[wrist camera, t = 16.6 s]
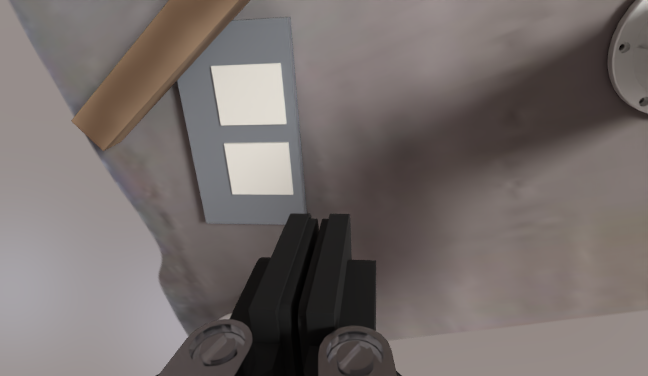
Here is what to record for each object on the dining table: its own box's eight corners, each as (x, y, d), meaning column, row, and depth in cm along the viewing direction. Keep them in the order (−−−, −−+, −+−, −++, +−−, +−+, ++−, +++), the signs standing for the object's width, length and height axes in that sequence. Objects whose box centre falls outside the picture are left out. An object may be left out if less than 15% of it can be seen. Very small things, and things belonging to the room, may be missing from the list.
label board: (290, 16, 38) (286, 17, 36) (307, 218, 47) (304, 226, 45) (173, 24, 40) (164, 24, 38) (211, 217, 49) (205, 224, 47)
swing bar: (275, -28, 34) (265, -31, 31) (121, 141, 42) (103, 151, 40) (242, -68, 33) (229, -75, 30) (91, 113, 41) (71, 120, 39)
